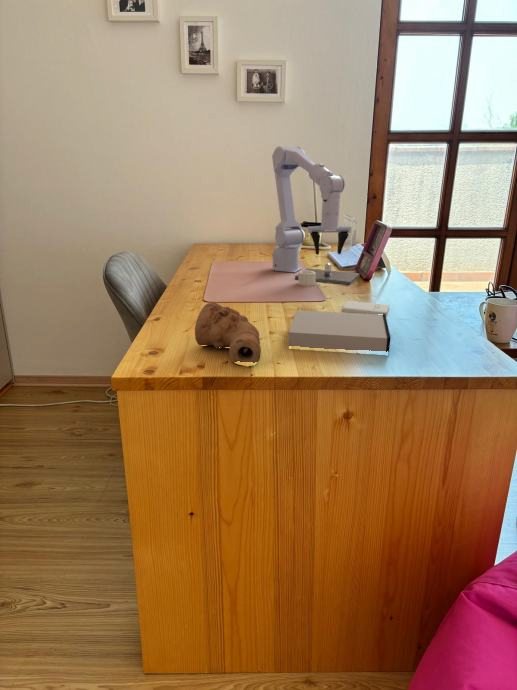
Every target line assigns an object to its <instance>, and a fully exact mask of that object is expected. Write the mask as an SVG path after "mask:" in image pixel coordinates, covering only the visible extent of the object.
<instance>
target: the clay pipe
mask: <svg viewBox="0 0 517 690" xmlns="http://www.w3.org/2000/svg"><path fill="white" fill-rule="evenodd" d="M248 319H249V318H248V317H247V316H245V315H241V313H240V312H239V311H237V310H236V309H233V308H231V307H229V306H222V305H220V304H218V303H217V302H216V301H210V302H208V303H206V304H205V305H204V306H203V307H202V308H201V310H200V312H199V314H198V316H197V318H196V321H195V326H194V337H195V342H196V343H197V344H198V345H199V346H200V345H214V346H213V347H214V348H215V347H217V348H216V349H218V348H219V347H220V348H223V349H225V348H224V347H230V348H228V349H229V357H230V360H231V362H233V363H234V362H237V361H240V362H253V363H255V362H258V363H259V361H260V359H261V355H262V352H261V351H262V349H261V340H260V333H259V330H258V329H257V327H256V326H255V325H254V324H252V323H251V322H250V321H249V320H248Z"/></svg>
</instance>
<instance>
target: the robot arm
mask: <svg viewBox="0 0 517 690" xmlns="http://www.w3.org/2000/svg"><path fill="white" fill-rule="evenodd" d="M271 158H272V165H273V166H272V167H273V172H274V178H275V185H276V194H277V201H278V209H279V217H280V218H279V219H280V221H279V223H278V224H277V225H276V226H275V234H274V235H275V236H274V238H275V239H274V240H275V242H276V244H277V245H276V246H275V247H274V248H273V252H272V268H271V270H272V271H274V270H275V271H276V272H287V273H296V272H299V271H301V270H302V267H301V266H299V261H300V260H299V258H300V257H299V254H300V252H299V247H300V246H301V247H302V245H301V244H303V242H304V240H305V238H304V233H305V232H304V233H303V231H304V230H303V229H302V224H301V223H300V222H299V221H298V220H297V219H296V216H295V209H294V208H295V207H294V206H295V205H294V200H293V191H292V184H291V175H292V173H294V172H295V171H296V170H297V169H298V168H299V167H301V168H302V169H303V170H304V171H306V172H307V173H308V177H309V179H310V180H311V181H313V182H314V183H315V184H316V185H318V186H319V187H318V188H319V191H320V194H321V196H320V197H321V200H322V204H321V206H322V207H321V223H320V225H314V226H309V225H308V226H307V233H308V234H310V236H311V239H312V242H313V245H314V250H315V254H316V255H319V254H320V238H321V235H320V233H324V234H326V233H331V234H332V233H337V237H338V238H337V239H338V240H337V252H336V253H337V255H341V254H342V251H343V247H344V245H345V242H346V241H347V240H348V237H349V234H351V233H352V226H350V225H339V223H340V222H339V221H340V206H341V205H340V204H341V202H340V201H341V193H342V192H343V191H344V189H345V185H346V184H345V179H344V177H343V176H342V175H341V174H334V172H333V171H332V170H329V169H328V168H326V167H325V164H324V163H320V162H317V163H315V162H314V160H312V159H311V158H310V157H309V156H308V155H307V154H306V153H305V150H304V149H302V148H301V147H300V146H294V147H293V146H291V147H290V146H277V147H276V148H274V151H273V153H272V155H271ZM302 230H303V231H302Z"/></svg>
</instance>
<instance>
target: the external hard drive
mask: <svg viewBox="0 0 517 690" xmlns="http://www.w3.org/2000/svg"><path fill="white" fill-rule="evenodd" d="M389 307H390V304H384V303H383V304H382V303H372V302H363V301H353V300H347V301H346V302H345V303H344V305H343V306H342V312H344V313H359V314H365V313H366V314H367V313H368V314H386V315H387V316H388V313H389V311H388V310H390V308H389Z"/></svg>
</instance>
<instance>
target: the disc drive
mask: <svg viewBox="0 0 517 690" xmlns="http://www.w3.org/2000/svg"><path fill="white" fill-rule="evenodd" d="M390 344H391V334H390V329H389V325H388V319H387V316H386V314H383V315H378V314H365V313H355V312H341V311H338V312H336V311H335V312H334V311H319V310H318V311H317V310H302V309H301V310H299V309H298V310H295V312H294V316H293V319H292V322H291V325H290V328H289V331H288V346H300V347H309V348H324V349H345V350H369V351H370V350H371V351H386V352H387V351H388V352H389V353H390Z"/></svg>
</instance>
